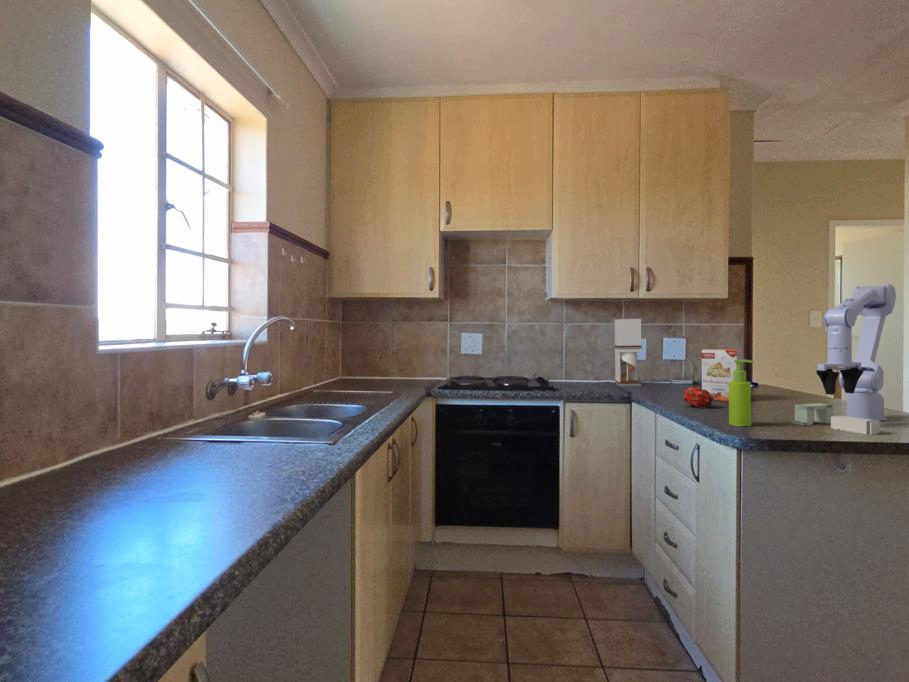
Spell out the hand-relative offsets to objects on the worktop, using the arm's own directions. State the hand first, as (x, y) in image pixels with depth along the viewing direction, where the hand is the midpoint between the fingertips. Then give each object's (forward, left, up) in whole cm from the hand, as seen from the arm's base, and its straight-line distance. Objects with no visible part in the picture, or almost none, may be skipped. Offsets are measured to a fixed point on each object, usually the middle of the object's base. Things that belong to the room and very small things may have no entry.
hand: (839, 393), depth 149 cm
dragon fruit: (+13, -43, -10) cm, 46 cm away
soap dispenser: (+26, -10, -10) cm, 29 cm away
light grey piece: (-7, -117, -10) cm, 118 cm away
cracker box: (-8, -54, -10) cm, 55 cm away
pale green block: (+4, -5, -9) cm, 11 cm away
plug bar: (+4, +8, -10) cm, 13 cm away
